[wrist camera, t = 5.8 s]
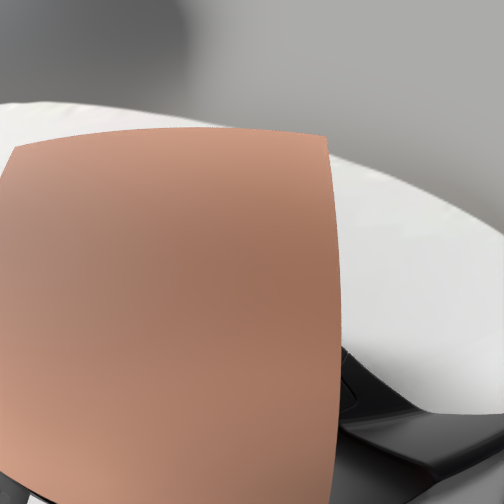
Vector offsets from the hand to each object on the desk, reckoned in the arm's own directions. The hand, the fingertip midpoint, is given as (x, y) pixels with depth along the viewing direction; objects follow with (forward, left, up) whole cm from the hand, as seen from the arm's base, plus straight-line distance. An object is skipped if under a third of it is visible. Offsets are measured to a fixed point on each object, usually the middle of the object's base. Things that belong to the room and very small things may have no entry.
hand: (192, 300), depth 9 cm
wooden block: (-2, +3, -6) cm, 7 cm away
